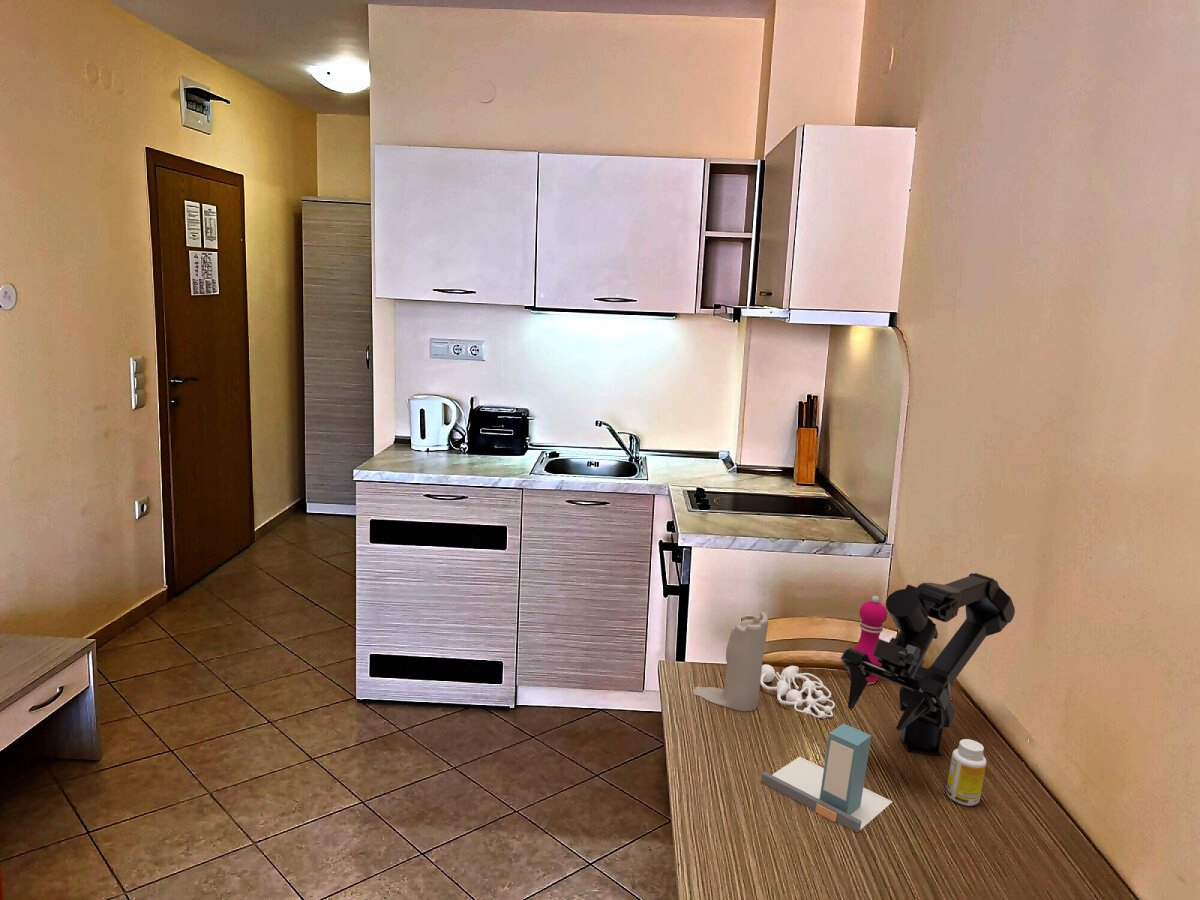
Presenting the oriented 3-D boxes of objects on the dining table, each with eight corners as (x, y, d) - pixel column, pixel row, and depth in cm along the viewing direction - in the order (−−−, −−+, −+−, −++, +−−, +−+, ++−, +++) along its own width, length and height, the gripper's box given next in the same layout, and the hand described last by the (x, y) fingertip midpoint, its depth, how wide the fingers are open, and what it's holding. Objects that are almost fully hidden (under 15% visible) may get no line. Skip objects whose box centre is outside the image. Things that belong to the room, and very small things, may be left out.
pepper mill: (881, 688, 193) (895, 603, 189) (848, 683, 195) (860, 598, 191) (877, 674, 200) (890, 592, 196) (845, 669, 202) (858, 588, 198)
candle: (698, 683, 188) (708, 596, 184) (761, 701, 182) (772, 611, 178) (687, 696, 181) (697, 606, 178) (751, 715, 176) (764, 622, 172)
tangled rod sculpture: (851, 725, 178) (856, 707, 177) (789, 723, 174) (794, 705, 173) (806, 679, 196) (810, 663, 196) (749, 677, 192) (753, 660, 192)
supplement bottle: (986, 803, 151) (996, 750, 149) (963, 809, 149) (973, 755, 147) (960, 786, 156) (970, 734, 154) (938, 791, 154) (947, 739, 152)
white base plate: (798, 762, 159) (800, 748, 159) (891, 807, 148) (894, 793, 147) (760, 788, 150) (762, 773, 149) (856, 839, 138) (858, 823, 138)
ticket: (815, 815, 143) (817, 803, 142) (835, 825, 140) (837, 813, 140) (814, 815, 143) (816, 803, 142) (834, 826, 140) (836, 814, 140)
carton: (833, 793, 148) (843, 723, 146) (860, 806, 145) (871, 735, 142) (818, 804, 144) (828, 733, 142) (845, 818, 141) (857, 746, 139)
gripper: (852, 606, 159) (813, 678, 153) (953, 641, 146) (914, 721, 141) (867, 635, 166) (830, 706, 160) (964, 671, 153) (927, 749, 148)
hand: (873, 719), depth 152 cm, fingers open, 9 cm apart
